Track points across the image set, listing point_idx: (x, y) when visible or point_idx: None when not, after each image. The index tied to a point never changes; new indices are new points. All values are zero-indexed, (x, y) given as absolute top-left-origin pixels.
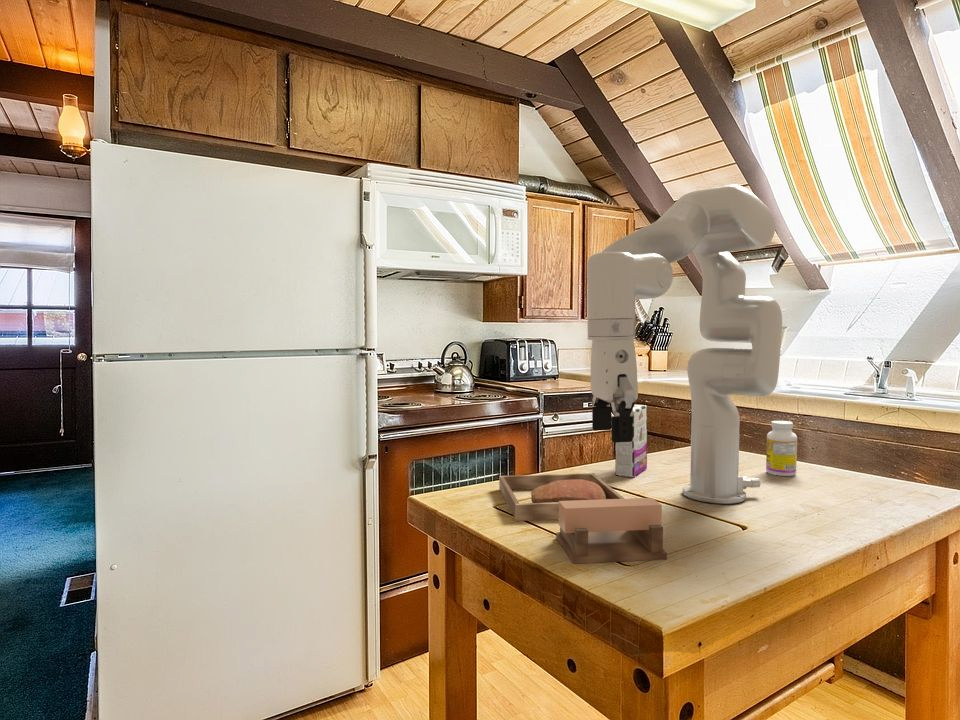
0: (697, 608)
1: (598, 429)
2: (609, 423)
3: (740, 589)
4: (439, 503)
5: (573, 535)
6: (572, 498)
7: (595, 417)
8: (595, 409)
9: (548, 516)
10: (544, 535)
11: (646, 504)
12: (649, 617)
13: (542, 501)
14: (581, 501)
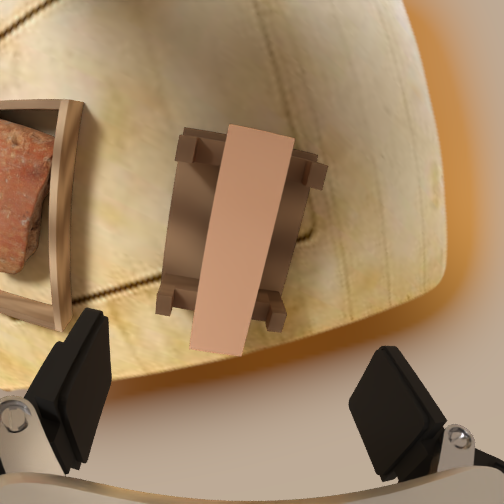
0: (441, 224)
1: (109, 367)
2: (98, 341)
3: (430, 133)
4: (9, 374)
5: (254, 319)
6: (32, 216)
7: (95, 422)
8: (84, 456)
9: (67, 266)
10: (144, 302)
11: (278, 173)
12: (429, 286)
13: (23, 264)
14: (204, 310)
